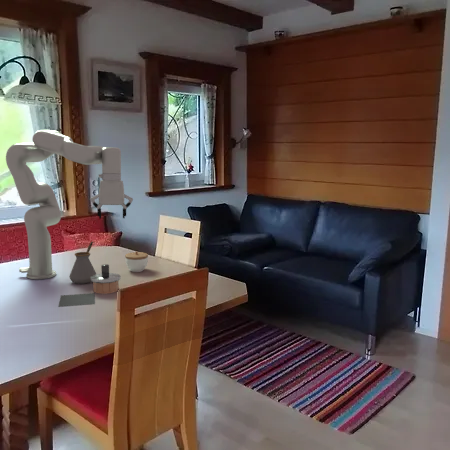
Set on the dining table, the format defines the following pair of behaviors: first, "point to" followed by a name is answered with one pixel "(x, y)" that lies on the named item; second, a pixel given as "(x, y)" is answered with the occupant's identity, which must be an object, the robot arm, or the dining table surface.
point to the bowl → (106, 287)
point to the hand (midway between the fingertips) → (112, 218)
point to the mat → (77, 299)
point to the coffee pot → (82, 268)
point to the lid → (105, 276)
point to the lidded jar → (136, 261)
